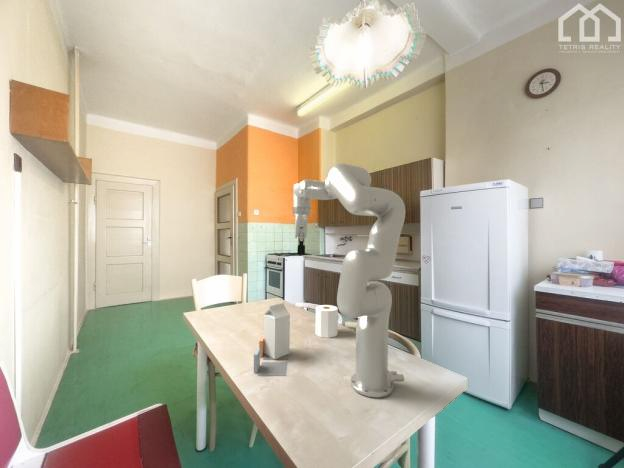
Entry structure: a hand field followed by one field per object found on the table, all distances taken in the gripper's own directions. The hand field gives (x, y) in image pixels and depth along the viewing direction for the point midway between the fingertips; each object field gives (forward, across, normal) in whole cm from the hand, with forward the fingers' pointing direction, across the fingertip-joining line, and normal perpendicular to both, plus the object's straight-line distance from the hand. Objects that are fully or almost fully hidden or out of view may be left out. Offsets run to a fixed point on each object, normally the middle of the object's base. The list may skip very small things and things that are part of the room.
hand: (301, 254), depth 113 cm
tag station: (+37, +18, -9) cm, 42 cm away
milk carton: (+37, +12, -9) cm, 40 cm away
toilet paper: (+38, -8, +12) cm, 40 cm away
